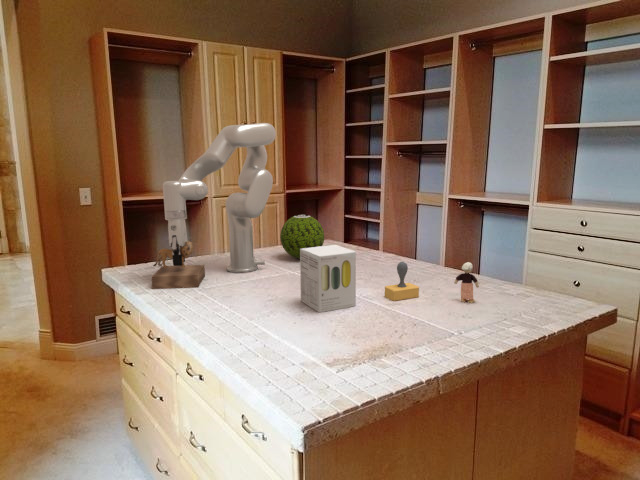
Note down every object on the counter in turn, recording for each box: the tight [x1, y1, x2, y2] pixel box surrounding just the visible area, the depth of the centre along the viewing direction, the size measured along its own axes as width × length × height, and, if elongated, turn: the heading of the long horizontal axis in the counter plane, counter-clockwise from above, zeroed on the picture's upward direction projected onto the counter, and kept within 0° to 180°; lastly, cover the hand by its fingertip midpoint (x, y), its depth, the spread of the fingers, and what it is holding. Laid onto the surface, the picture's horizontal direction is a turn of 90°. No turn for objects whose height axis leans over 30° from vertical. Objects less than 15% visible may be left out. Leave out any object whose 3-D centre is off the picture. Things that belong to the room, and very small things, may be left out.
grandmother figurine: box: [453, 261, 480, 304], centre depth 148 cm, size 8×4×13 cm, turn 71°
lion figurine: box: [152, 240, 194, 268], centre depth 172 cm, size 15×5×9 cm, turn 108°
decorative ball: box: [280, 214, 325, 260], centre depth 210 cm, size 20×20×20 cm
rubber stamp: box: [384, 261, 420, 302], centre depth 153 cm, size 10×6×12 cm, turn 115°
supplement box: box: [299, 244, 357, 313], centre depth 146 cm, size 13×13×18 cm
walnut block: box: [151, 264, 206, 290], centre depth 174 cm, size 16×16×5 cm
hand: (179, 263), depth 173 cm, fingers closed on lion figurine, 4 cm apart
